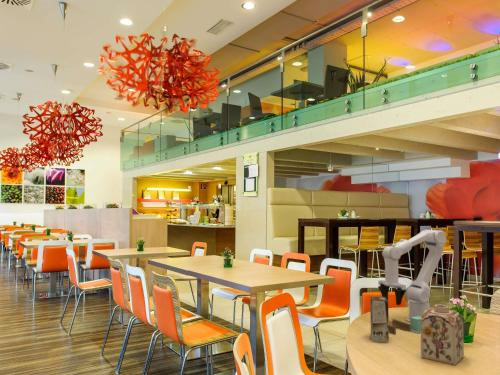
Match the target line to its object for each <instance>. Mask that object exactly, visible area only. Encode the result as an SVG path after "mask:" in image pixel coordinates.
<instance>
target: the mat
mask: <svg viewBox="0 0 500 375" xmlns="http://www.w3.org/2000/svg"><path fill="white" fill-rule="evenodd" d="M409 332H411V333H414V334H418V335H419V334H421V331H415V330H412V329H410V331H409Z"/></svg>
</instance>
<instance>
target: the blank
mask: <svg viewBox="0 0 500 375" xmlns="http://www.w3.org/2000/svg"><path fill="white" fill-rule="evenodd" d="M409 324H410V329H412V330H415V331H421V317H420V316H416V317H410V322H409Z"/></svg>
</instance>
